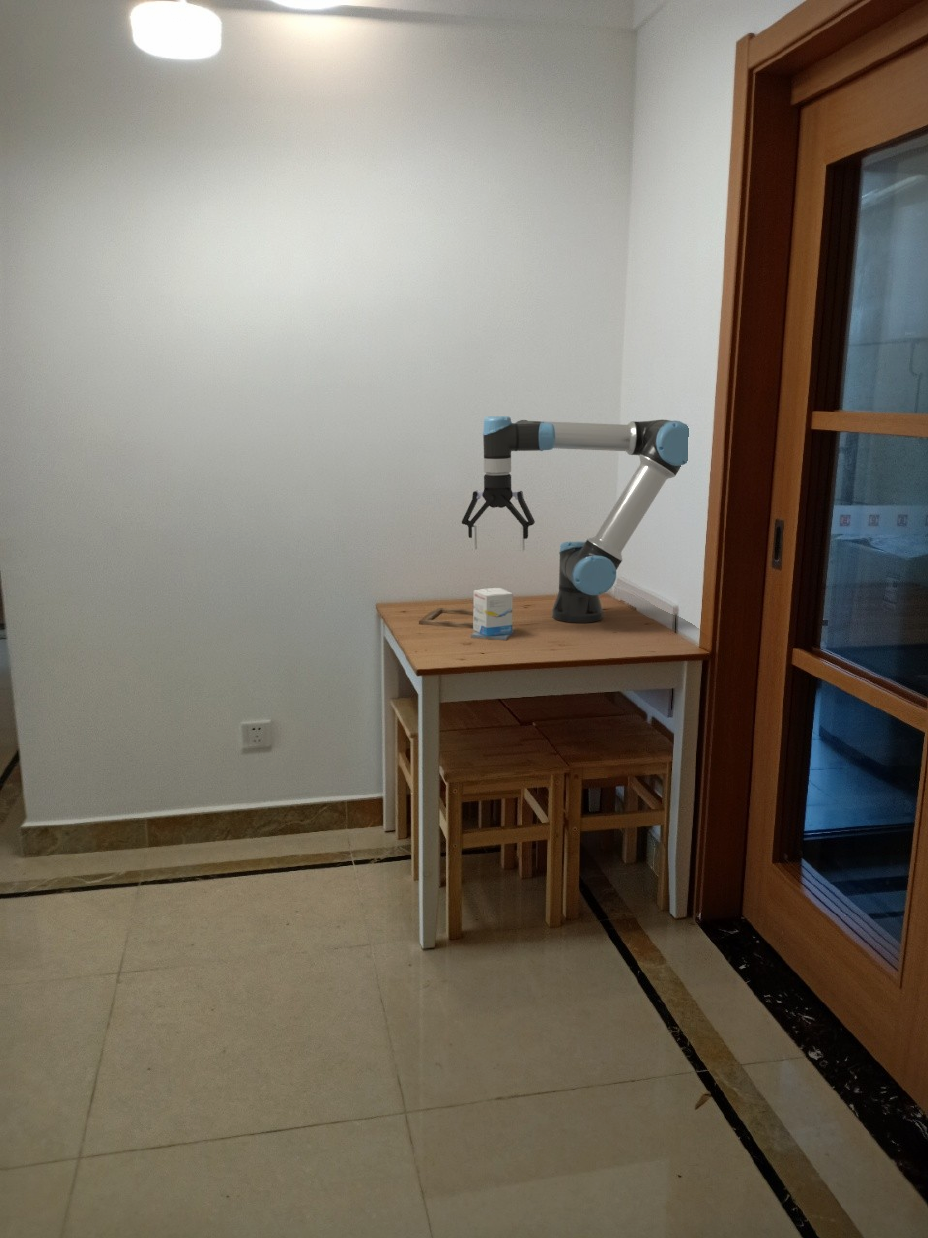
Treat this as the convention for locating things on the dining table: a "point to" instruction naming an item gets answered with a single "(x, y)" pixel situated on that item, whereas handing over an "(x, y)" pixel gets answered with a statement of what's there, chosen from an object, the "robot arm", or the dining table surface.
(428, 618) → the pocket frame
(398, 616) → the dining table surface
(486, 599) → the ink box
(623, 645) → the dining table surface
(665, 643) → the dining table surface
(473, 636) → the coaster
